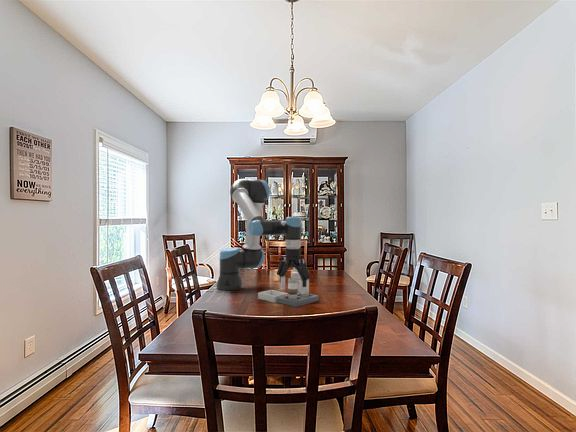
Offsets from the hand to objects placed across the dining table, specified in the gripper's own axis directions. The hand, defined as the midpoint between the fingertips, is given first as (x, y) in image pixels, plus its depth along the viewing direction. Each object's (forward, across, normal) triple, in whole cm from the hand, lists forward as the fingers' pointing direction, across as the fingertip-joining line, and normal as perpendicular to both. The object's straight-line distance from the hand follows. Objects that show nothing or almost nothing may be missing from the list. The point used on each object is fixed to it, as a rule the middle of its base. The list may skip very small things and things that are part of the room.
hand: (292, 291), depth 178 cm
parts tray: (+6, -13, 0) cm, 14 cm away
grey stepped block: (+6, -12, +20) cm, 24 cm away
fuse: (+6, 0, +9) cm, 11 cm away
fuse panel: (+6, 0, +4) cm, 7 cm away
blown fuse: (+6, 0, 0) cm, 6 cm away
